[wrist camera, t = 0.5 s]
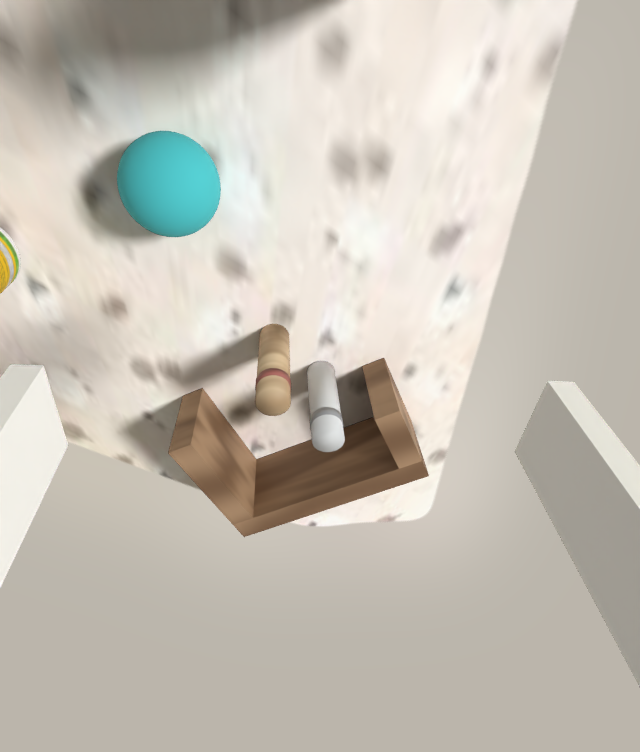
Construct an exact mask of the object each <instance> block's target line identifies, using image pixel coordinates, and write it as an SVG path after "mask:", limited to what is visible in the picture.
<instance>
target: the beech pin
mask: <svg viewBox="0 0 640 752" xmlns="http://www.w3.org/2000/svg"><path fill="white" fill-rule="evenodd" d="M255 390H256V398H255V404H256V407H257V409H258V410H259V411H260V412H261V413H263V414H265V415H269V416H277V415H281V414H283V413H285V412H286V411H287V410H288V409H289V407H290V404H291V396H290V392H291V379H290V355H289V333H288V331H287V330H286V328H284V327H283V326H281V325H278V324H270V325H267V326H265V327H264V328H263V329H262V330H261V332H260V339H259V354H258V368H257V378H256V387H255Z"/></svg>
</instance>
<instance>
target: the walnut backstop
mask: <svg viewBox="0 0 640 752" xmlns="http://www.w3.org/2000/svg"><path fill="white" fill-rule="evenodd" d="M362 367H363V371H364V376H365V380H366V384H367V389H368V393H369V397H370V402H371V406H372V410H373V415H374V417H373V418H370V419H367V420H365V421H362V422H359V423H356V424H354V425H351V426H348V427H345V428H343V430H344V437H345V441H344V444H343V446H342V447H341V448H339V449H338V450H336V451H333V452H322V451H319V450H317V449H316V448H315V447H314V446H313V444H312V440H309V441H307V442H304V443H301V444H298V445H296V446H293V447H290V448H287V449H284V450H282V451H279V452H276V453H273V454H271V455H268V456H265V457H262V458H260V459H257V460H256V458H255V457H254V456H253V454H252V453H251V452H250V450H249V449H248V448H247V446H246V445H245V444H244V442H243V441H242V440H241V438H240V437H239V436H238V434H237V433H236V432H235V430H234V429H233V428H232V426H231V425H230V424H229V422H228V421H227V420H226V418H225V417H224V416H223V415H222V413H221V412H220V411H219V409H218V408H217V407H216V405H215V404H214V403H213V401H212V400H211V399H210V397H209V396H208V395H207V393H206V392H205V391H204V389H203V388H202V389H199V390H197V391H194V392H192V393H189V394H187V395H184V396H183V398H182V402H181V405H180V409H179V413H178V417H177V421H176V425H175V429H174V432H173V436H172V440H171V444H170V448H169V452H168V453H169V455H170V456H171V457H172V458H173V459H174V460H175V461H176V462H177V463H178V465H179V466H180V467H181V468H182V469H183V470H184V471H185V472H186V473H187V474H188V476H189V477H190V478H191V479H192V480H193V481H194V482H195V483H196V484H197V486H198V487H199V488H200V489H201V490H202V491H203V492H204V493H205V494H206V495H207V497H208V498H209V499H210V500H211V501H212V502H213V503H214V504H215V505H216V506H217V508H218V509H219V510H220V511H221V512H222V513H223V514H224V515H225V516H226V518H227V519H228V520H229V521H230V522H231V523H232V524H233V525H234V526H235V528H237V530H238V531H239V532H240V533H241V534H242V535H243V536H244V537H245V536H248V535H251V534H255V533H258V532H261V531H264V530H267V529H269V528H273V527H276V526H279V525H282V524H285V523H288V522H291V521H294V520H297V519H300V518H303V517H306V516H309V515H312V514H315V513H318V512H321V511H324V510H327V509H330V508H333V507H336V506H339V505H342V504H345V503H348V502H351V501H354V500H357V499H361V498H364V497H367V496H370V495H373V494H376V493H379V492H382V491H385V490H388V489H391V488H394V487H397V486H400V485H403V484H406V483H409V482H412V481H415V480H418V479H421V478H424V477H427V476H429V475H428V472H427V469H426V465H425V462H424V459H423V456H422V453H421V450H420V447H419V444H418V441H417V437H416V434H415V431H414V428H413V425H412V422H411V419H410V417H409V415H408V412H407V410H406V408H405V405H404V403H403V401H402V398H401V396H400V394H399V392H398V389H397V387H396V385H395V382H394V380H393V378H392V375H391V373H390V371H389V368H388V366H387V364H386V362H385V359H384V358H383V359H380V360H377V361H375V362H372V363H370V364H367V365H364V366H362Z"/></svg>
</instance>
